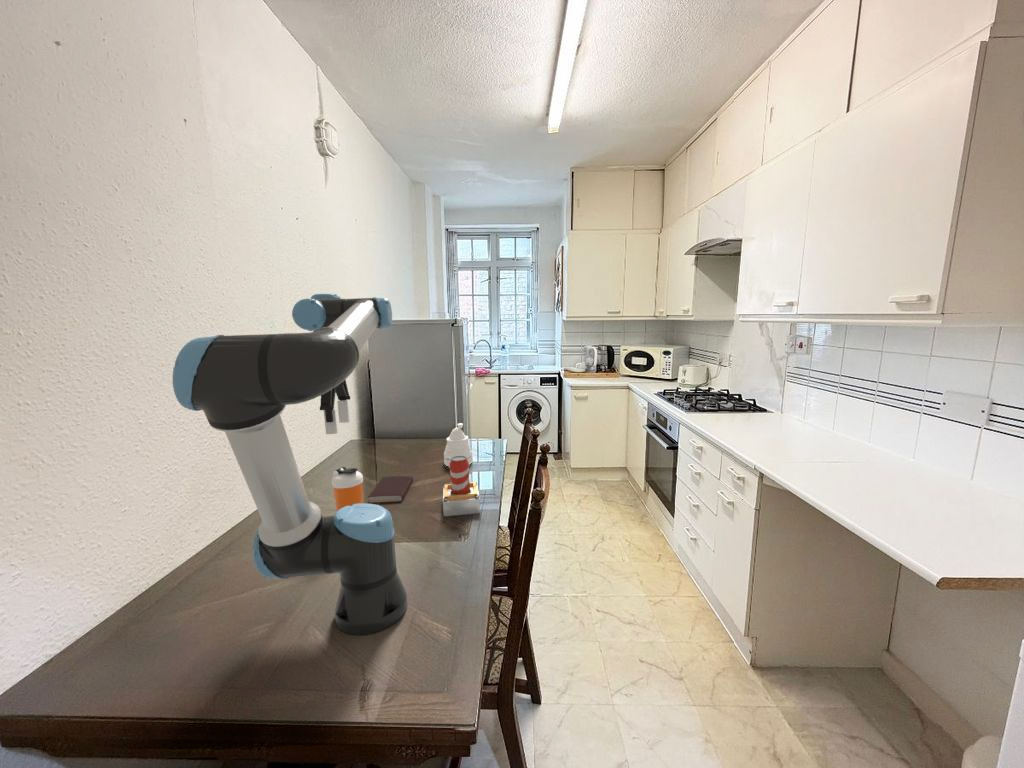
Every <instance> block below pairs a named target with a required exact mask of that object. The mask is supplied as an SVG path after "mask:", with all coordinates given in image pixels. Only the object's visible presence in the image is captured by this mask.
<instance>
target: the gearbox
mask: <svg viewBox="0 0 1024 768" xmlns="http://www.w3.org/2000/svg"><path fill="white" fill-rule="evenodd" d="M469 483H470V490H469V491H468V492H467V493H465V494H455V493H453V492H452V491H451V483H445V484H444V485H443V487H442V488H443V491H442V492H443V493H442V509H443V517H453V516H462V515H463V516H464V515H473V514H475V515H476V514H481V504H480V503H481V501H480V493H479V488H478V483H477V481H469Z"/></svg>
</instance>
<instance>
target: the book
mask: <svg viewBox="0 0 1024 768" xmlns="http://www.w3.org/2000/svg"><path fill="white" fill-rule="evenodd" d="M412 482H414V476H410V475H409V476H407V475H405V476H403V475H401V476H400V475H396V476H394V475H393V476H391V475H390V476H382V477H381V479H379V482H378V483H377V484H376V485H375V487H374V488H373V490H371V492H370V494H368V496H367V498H369V499H368V502H367V503H368V504H374V503H390V502H392V503H393V502H403V500H404V499H405V497H406V495H407V493H408V491H409V490H410V488H411V486H412V484H413V483H412ZM408 489H409V490H408Z"/></svg>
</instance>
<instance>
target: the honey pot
mask: <svg viewBox="0 0 1024 768" xmlns="http://www.w3.org/2000/svg"><path fill="white" fill-rule="evenodd" d="M456 425H457V427H455V428H453V429H452V431H451V432H450V434H449V436H448V437H446V439H445V440H446V445H445V449H444V451H443V461H444V462H443V463H444V464H445V465H446V466H449V467H448V468H450V462H451V458H452V457H455V456H465V457H466V459H467V461H468V464H471V463H472V462H474V458H473V450H472V449H471V446H470V443H469V441H468V440H469V436H468V435H466V434H465V433H464V431H463V430H462V428H463V427H464V423H461V422H459V423H457V424H456ZM444 464H443V465H444ZM472 464H473V463H472ZM472 464H471V465H472ZM445 465H444V466H445ZM446 466H445V467H446Z"/></svg>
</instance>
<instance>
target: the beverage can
mask: <svg viewBox="0 0 1024 768" xmlns="http://www.w3.org/2000/svg"><path fill="white" fill-rule="evenodd" d="M469 467H470V465H469V464H468V461H467V459H466V457H465V456H455V457H452V458H451V462H450V467H449V476H450V477H449V478H450V484H451V491H452V492H453V493H455V494H465V493H467V492H468V491H469V490H470V483H469V482H470V468H469Z"/></svg>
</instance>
